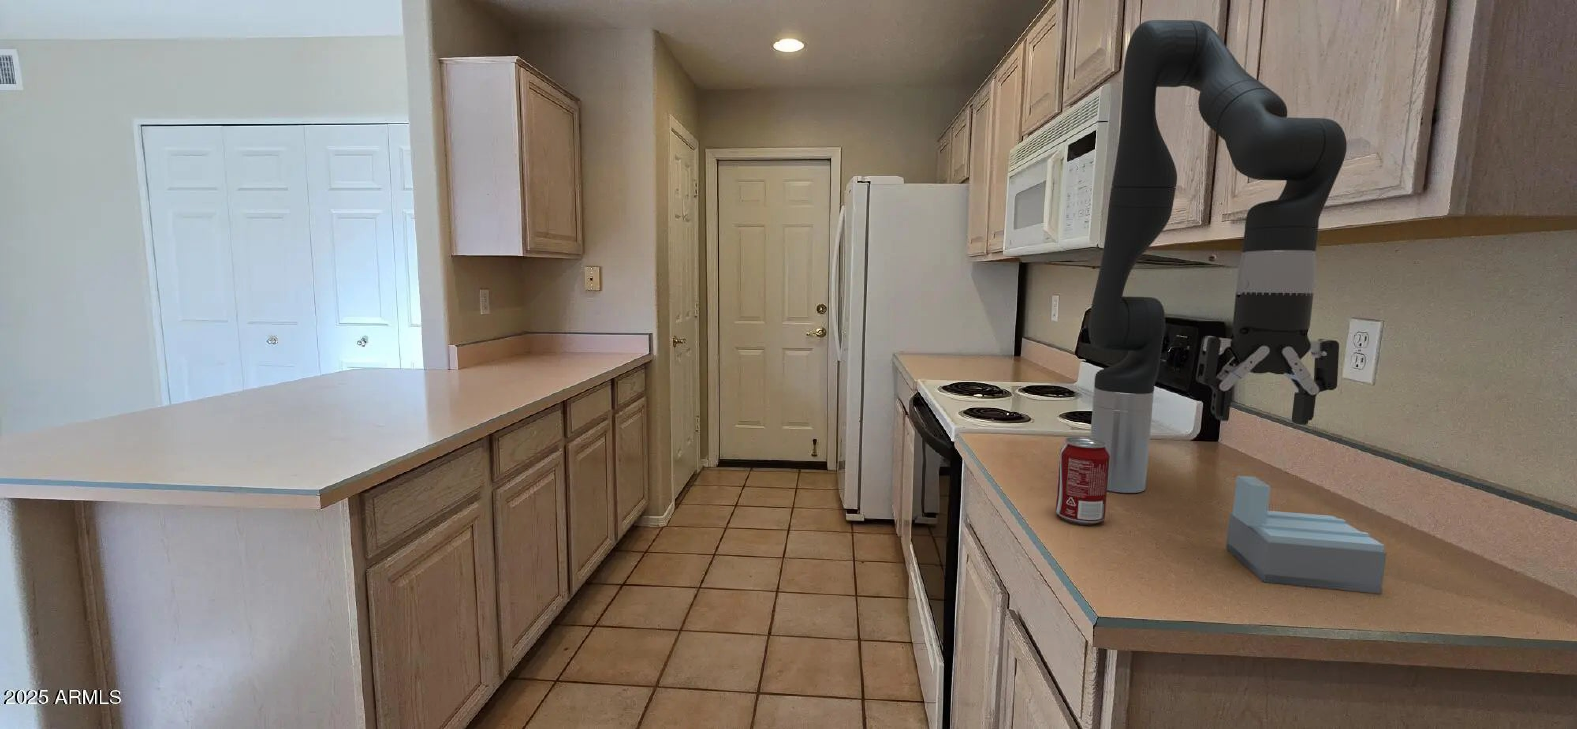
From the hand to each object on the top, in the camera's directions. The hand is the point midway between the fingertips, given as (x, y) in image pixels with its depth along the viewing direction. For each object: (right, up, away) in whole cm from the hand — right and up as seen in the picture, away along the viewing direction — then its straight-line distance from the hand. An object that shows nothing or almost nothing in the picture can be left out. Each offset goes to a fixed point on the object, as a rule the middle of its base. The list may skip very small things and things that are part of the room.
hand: (1259, 421), depth 79 cm
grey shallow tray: (+6, -19, +1) cm, 20 cm away
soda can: (-14, -16, +18) cm, 28 cm away
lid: (+6, -14, 0) cm, 15 cm away
